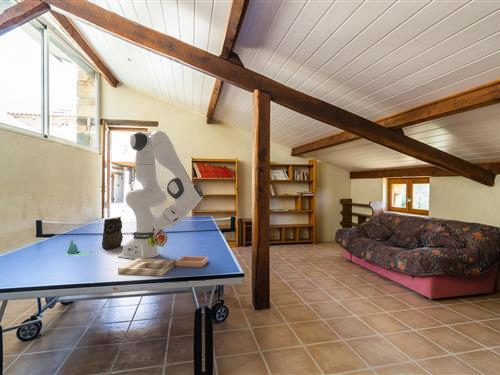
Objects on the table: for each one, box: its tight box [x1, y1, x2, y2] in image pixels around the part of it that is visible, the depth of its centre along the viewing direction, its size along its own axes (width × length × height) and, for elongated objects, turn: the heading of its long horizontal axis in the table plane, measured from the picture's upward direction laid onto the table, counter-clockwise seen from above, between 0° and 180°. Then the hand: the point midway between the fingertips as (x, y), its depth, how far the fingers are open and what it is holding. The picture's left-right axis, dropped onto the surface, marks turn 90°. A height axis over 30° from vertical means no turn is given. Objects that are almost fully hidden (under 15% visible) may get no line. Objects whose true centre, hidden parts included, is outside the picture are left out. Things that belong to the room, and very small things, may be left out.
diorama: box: [63, 238, 93, 257], centre depth 159 cm, size 12×20×9 cm, turn 77°
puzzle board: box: [117, 258, 177, 277], centre depth 131 cm, size 21×17×3 cm
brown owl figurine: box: [101, 216, 124, 251], centre depth 175 cm, size 13×13×20 cm
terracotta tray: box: [174, 255, 209, 269], centre depth 140 cm, size 14×11×2 cm
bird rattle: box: [147, 226, 169, 248], centre depth 130 cm, size 6×11×9 cm
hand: (156, 232), depth 130 cm, fingers closed on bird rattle, 2 cm apart
